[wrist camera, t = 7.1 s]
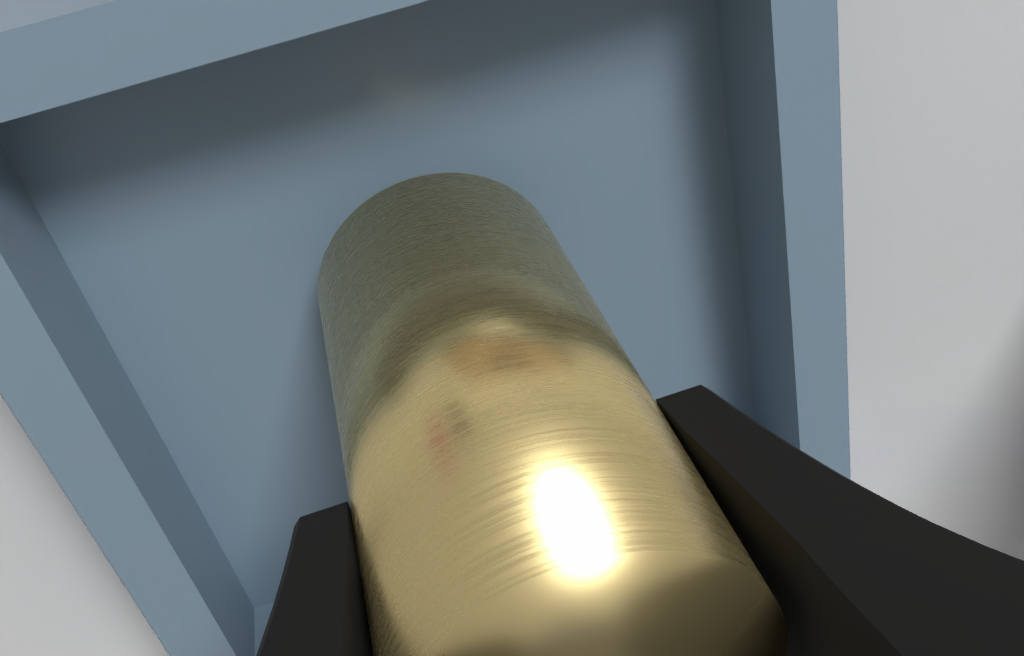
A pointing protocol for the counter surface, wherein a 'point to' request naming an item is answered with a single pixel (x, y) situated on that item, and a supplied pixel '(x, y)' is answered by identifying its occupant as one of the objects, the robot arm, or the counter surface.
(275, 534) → the slate-blue tray
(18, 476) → the counter surface
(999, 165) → the counter surface
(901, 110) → the counter surface
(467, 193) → the brass peg
